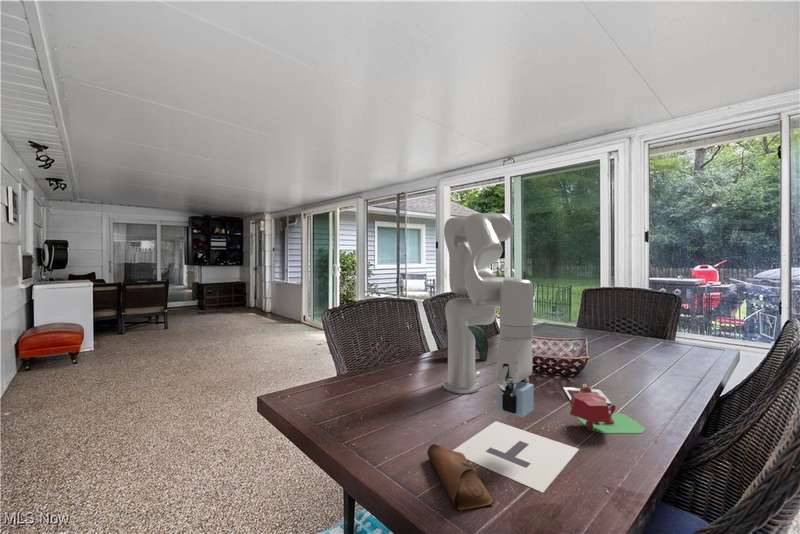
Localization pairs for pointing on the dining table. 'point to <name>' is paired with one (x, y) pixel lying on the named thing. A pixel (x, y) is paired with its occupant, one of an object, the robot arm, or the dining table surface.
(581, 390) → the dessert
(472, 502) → the sunglasses case
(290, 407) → the dining table surface
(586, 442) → the dining table surface
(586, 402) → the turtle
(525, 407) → the blue cube
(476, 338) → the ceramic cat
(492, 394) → the dining table surface
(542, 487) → the letter mat
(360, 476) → the dining table surface
